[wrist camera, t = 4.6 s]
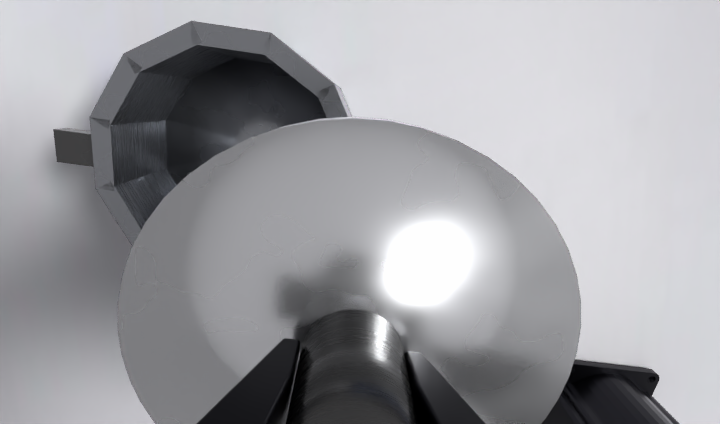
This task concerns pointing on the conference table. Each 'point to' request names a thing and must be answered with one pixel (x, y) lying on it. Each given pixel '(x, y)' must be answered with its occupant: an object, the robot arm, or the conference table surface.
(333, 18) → the conference table surface
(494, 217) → the lid
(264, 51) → the pot
